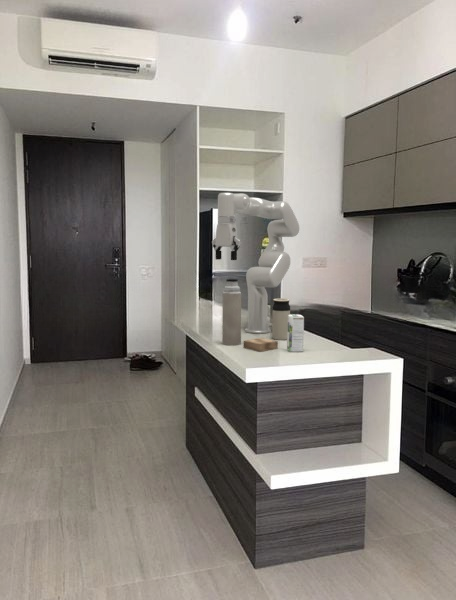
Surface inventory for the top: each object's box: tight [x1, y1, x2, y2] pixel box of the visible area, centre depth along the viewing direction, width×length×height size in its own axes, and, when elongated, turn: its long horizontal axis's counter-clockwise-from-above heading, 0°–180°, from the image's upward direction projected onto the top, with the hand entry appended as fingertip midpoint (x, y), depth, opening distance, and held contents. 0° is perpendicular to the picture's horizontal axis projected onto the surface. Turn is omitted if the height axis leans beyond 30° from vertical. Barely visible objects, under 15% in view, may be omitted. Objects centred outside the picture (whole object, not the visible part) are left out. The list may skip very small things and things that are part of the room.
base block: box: [242, 337, 279, 353], centre depth 221 cm, size 10×10×3 cm
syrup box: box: [286, 313, 305, 353], centre depth 216 cm, size 6×6×14 cm
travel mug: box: [271, 298, 291, 341], centre depth 242 cm, size 8×8×18 cm
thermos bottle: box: [222, 278, 242, 346], centre depth 229 cm, size 8×8×28 cm
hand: (226, 259), depth 239 cm, fingers open, 9 cm apart
